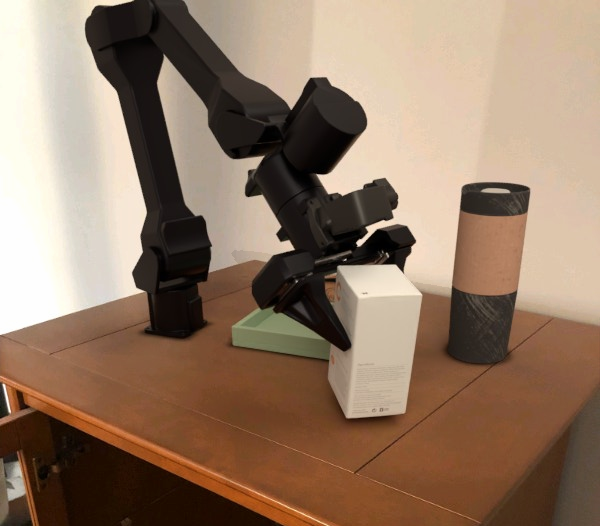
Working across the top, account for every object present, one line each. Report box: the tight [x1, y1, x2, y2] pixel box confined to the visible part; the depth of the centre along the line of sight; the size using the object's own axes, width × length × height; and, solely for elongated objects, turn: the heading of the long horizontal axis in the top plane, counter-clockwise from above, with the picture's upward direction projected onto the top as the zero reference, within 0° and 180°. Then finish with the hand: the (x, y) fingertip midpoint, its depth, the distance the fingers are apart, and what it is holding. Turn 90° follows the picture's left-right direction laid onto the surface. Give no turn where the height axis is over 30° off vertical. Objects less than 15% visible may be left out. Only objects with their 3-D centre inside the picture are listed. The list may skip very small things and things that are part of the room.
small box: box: [327, 265, 424, 419], centre depth 67 cm, size 8×6×13 cm
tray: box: [231, 302, 334, 361], centre depth 89 cm, size 20×14×3 cm
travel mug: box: [447, 181, 531, 365], centre depth 80 cm, size 8×8×20 cm
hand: (380, 336), depth 66 cm, fingers closed on small box, 9 cm apart
